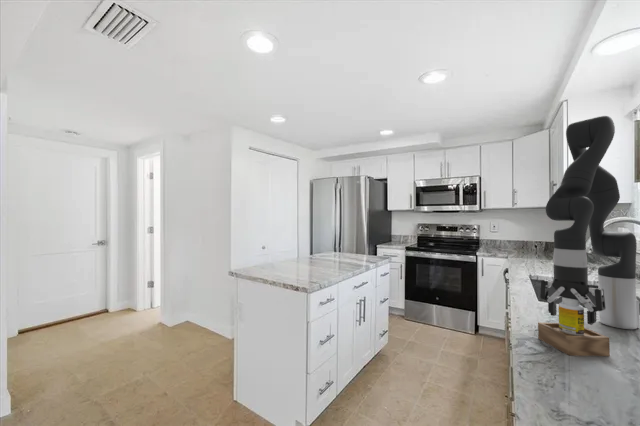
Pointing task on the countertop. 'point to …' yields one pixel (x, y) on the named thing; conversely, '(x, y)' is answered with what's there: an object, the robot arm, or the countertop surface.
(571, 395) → the countertop surface
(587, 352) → the walnut tray
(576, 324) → the supplement bottle
